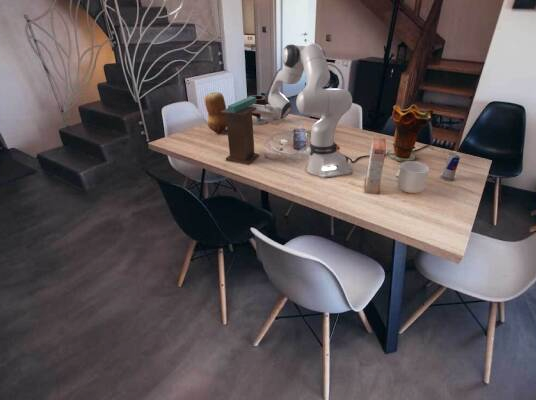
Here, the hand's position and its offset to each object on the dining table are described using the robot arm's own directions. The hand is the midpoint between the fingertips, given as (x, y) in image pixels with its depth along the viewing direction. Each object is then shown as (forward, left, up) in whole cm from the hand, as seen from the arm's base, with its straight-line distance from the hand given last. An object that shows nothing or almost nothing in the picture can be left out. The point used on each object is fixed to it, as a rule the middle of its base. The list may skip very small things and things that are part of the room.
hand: (257, 105), depth 169 cm
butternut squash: (+25, -27, -24) cm, 43 cm away
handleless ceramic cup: (-64, +61, -24) cm, 92 cm away
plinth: (+10, +17, -24) cm, 31 cm away
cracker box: (-48, +56, -24) cm, 78 cm away
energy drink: (-88, +53, -24) cm, 106 cm away
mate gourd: (-2, -47, -24) cm, 53 cm away
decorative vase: (-78, +24, -24) cm, 85 cm away
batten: (+8, +13, +2) cm, 16 cm away
